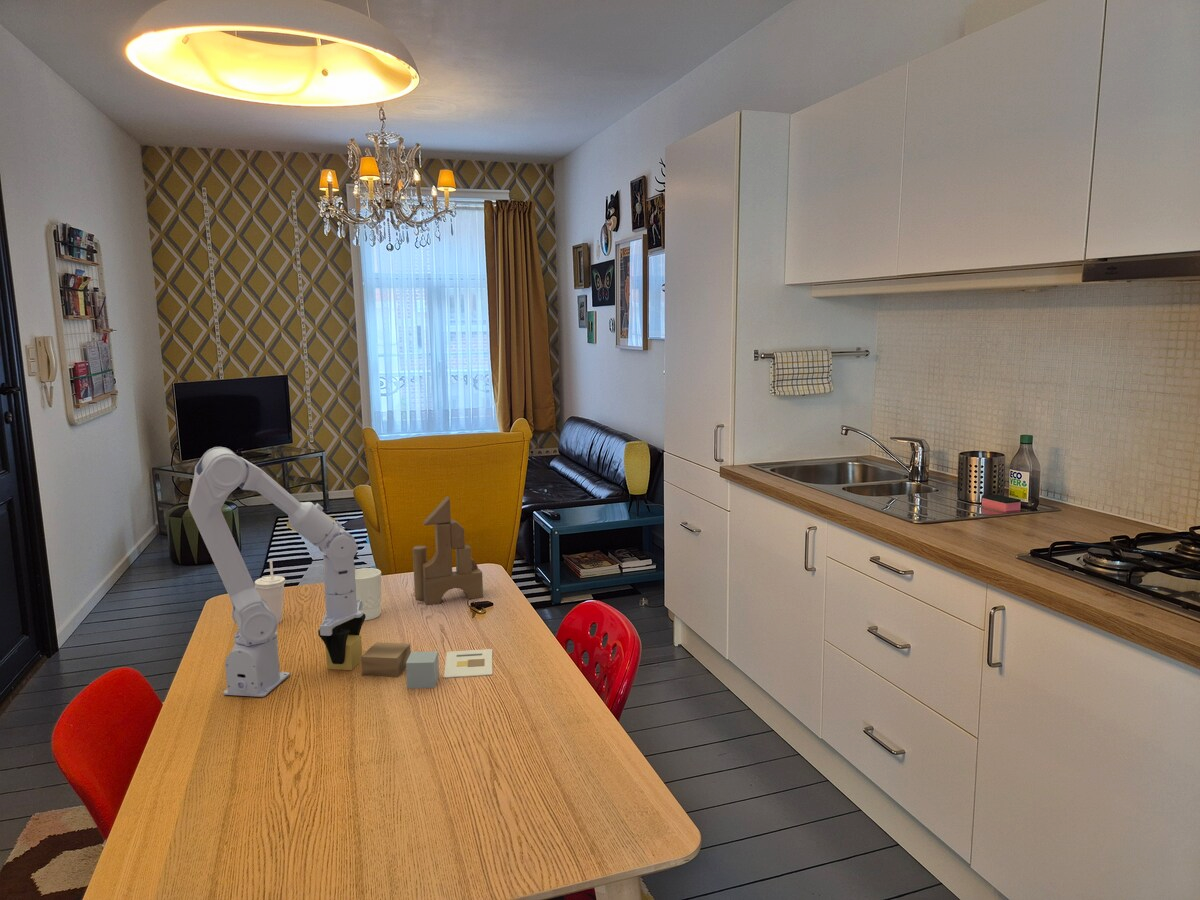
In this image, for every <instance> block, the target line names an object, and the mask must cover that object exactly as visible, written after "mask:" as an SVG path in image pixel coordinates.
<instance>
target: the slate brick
mask: <svg viewBox="0 0 1200 900" xmlns="http://www.w3.org/2000/svg"><path fill="white" fill-rule="evenodd" d="M439 665H440V664H439V651H438V650H436V651H435V650H434V651H411V653H410V655H409V658H408V660H407V662H406V669H405V672H406V689H411V690H412V689H436V686H437V683H438V680H439V677H440V666H439Z"/></svg>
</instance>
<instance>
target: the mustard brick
mask: <svg viewBox="0 0 1200 900" xmlns="http://www.w3.org/2000/svg"><path fill="white" fill-rule="evenodd" d="M324 645H325V644H324ZM362 645H363V643H362V635H361V634H359V635H348V637H347V641H346V648H345V660H344V663H343V664H333V663H332V661H331V658H330V655H329V652H328V649H327V647H326V645H325V658H326V659H325V660H326V670H339V671H340V670H341V671H342V670H343V671H353V669H355V667H357V666H358V665H359V664H360V663H362V662H361V656H362V655H363V647H362Z"/></svg>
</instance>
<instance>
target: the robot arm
mask: <svg viewBox="0 0 1200 900" xmlns="http://www.w3.org/2000/svg"><path fill="white" fill-rule="evenodd" d="M238 487H239V488H240V489H241V490H244V491H253V492H254V491H255V492H257V493H258V494H260V495H261V496H262V497H264V498H265V499H266V500H268V501H269V502H271V504H273V505H274V506H275V507H277V508H278V509H279V510H281V511H282V512H284V513H285V514H286V515H287V516H288V525H289V527H290V528H291V529H293V530H294V531H295V532H296V533H298V534H299V535H300V536H301V537H303V538H304V539H305V540H306V541H308V542H309V543H310V544H312V545H313V546H314V547H316V548H317V547H318V549H319V551H320V552H322V553H323V556H322V557H323V558H322V559H323V560H322V562H323V585H324V598H325V613H324V617H323V620H322V623H321V624H320V625H319V629H318V631H317V632H318V637H320V639H321V641H323V643H324V645H326V646H325V648H326V647H327V649H328V652H329V655H330V658H331V661H332V663H333V664H343V663H344V660H345V648H346V641H347V637H348V635H361V634H360V633H361V630H362V627H363V624H364V622H365V621H366V620H365V618H366V616H365V614H363V611H359V610H362V609H363V606H362V600H357V599H356V581H355V569H356V568H355V561H354V560H355V558H354V557H355V556H356V554H357V551H358V547H359V545H358V544H357V542H356V539H355V537H354V536H353V535H352V534H351V533H349V532H348V531H346V530H345V529H344V528H343V526H342V523H341V522H340V521H338V520H336V521H334V520H333V518H331V517H330V516H329V515H328V514H326V513H325V512H324V507H323V506H322V505H321V504H319V503H318V502H317V503H315V504H314V503H313V502H311V501H305V502H302V501H301V502H300V501H299V500H298V499H297V498H296V497H294V496H293V495H292V494H291V493H289V492H288V491H287V490H286V488H284V487H283V486H281V485H280V483H278V482H277V481H276V480H274V479H273V478H272V477H271V476H270V475H269V474H268V473H266V472H265V471H264V470H263V469H261V468H260V467H259V466H257V465H255V464H253V463H252V462H250V461H248V460H247V459H245V458H243V457H242V456H239V455H237V454H236V453H235V451H233V450H231V449H230V448H227V447H223V446H214V447H212V448H209V449H207V450H206V451H205V452H204V453H203V455H202V456H201V457H200V459H199V461H198V462H197V463H196V465H195V466H194V475H193V480H192V484H191V489H190V493H189V498H188V502H187V505H188V509H189V512H190V514H191V516H192V519H193V520H194V523H195V525H196V527H197V529H198V531H199V533H200V535H201V538H202V540H203V542H204V544H205V547H206V548H207V551H208V553H209V554H210V557H211V559H212V562H213V563H214V566H215V568H216V570H217V572H218V574H219V576H220V577H219V578H220V579H221V582H222V584H223V586H224V588H225V590H226V592H227V594H228V597H229V600H230V601H231V605H232V611H231V612H232V613H231V614H232V615H231V616H232V620H233V622H234V623H235V624H236V626H237V627H238V629H237V630H236V633H235V635H234V639H233V640H234V645H233V648H232V650H231V651H230V652H229V653H228V655H227V656H226V659H225V662H224V663H225V664H224V665H225V676H226V677H225V678H226V688H227V689H225V690H223V692H222V695H224V696H240V697H241V696H242V697H259V698H260V697H261V698H263V697H266V696H267V695H268V694H270V693H271V692H272V690H274V689H275V688H276V687H278V686H279V685H280V684H281V683H282V682H283V681H284V680H286V679H287V678H288V677H289V676H290V675H291V673H290V672H288V671H287V672H286V671H281V670H280V658H279V642H278V631H277V629H278V625H279V623H278V622H277V618H276V616H275V615H274V613H272V612H271V610H270V609H269V607H268V605H267V603H266V602H265V600H264V599H262V598H261V597H260V595H259V593H258V591H257V588H256V587H255V582H254V581H253V579H252V577H251V574H250V571H249V569H248V567H247V565H246V563H245V561H244V559H243V556H242V554H241V551H240V549H239V547H238V546H237V543H236V541H235V538H234V537H233V536H234V535H233V534H232V532H231V529H230V528H229V525H228V522H227V520H226V519H225V516H224V514H223V512H222V508H223V505H224V504H225V502H226V501H227V499H228V497H229V496H230V494H231V493H232V492H233V491H234V490H236V489H237V488H238Z"/></svg>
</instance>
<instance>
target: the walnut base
mask: <svg viewBox="0 0 1200 900" xmlns="http://www.w3.org/2000/svg"><path fill="white" fill-rule="evenodd" d="M411 650H412V649H411V643H400V642H399V643H398V642H379V641H378V642H377V641H376V642H375V643H374V644H372V646H370V647H369V648H368V650H366V651H365V652H364V653H362V656H361V662H360V663H361V674H362V676H364V677H379V678H380V677H382V678H384V677H385V678H399V677H400V676H401V674H403V672H404V671H406V662H407V660H408V658H409V655H410V653H411V652H412V651H411Z"/></svg>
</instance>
